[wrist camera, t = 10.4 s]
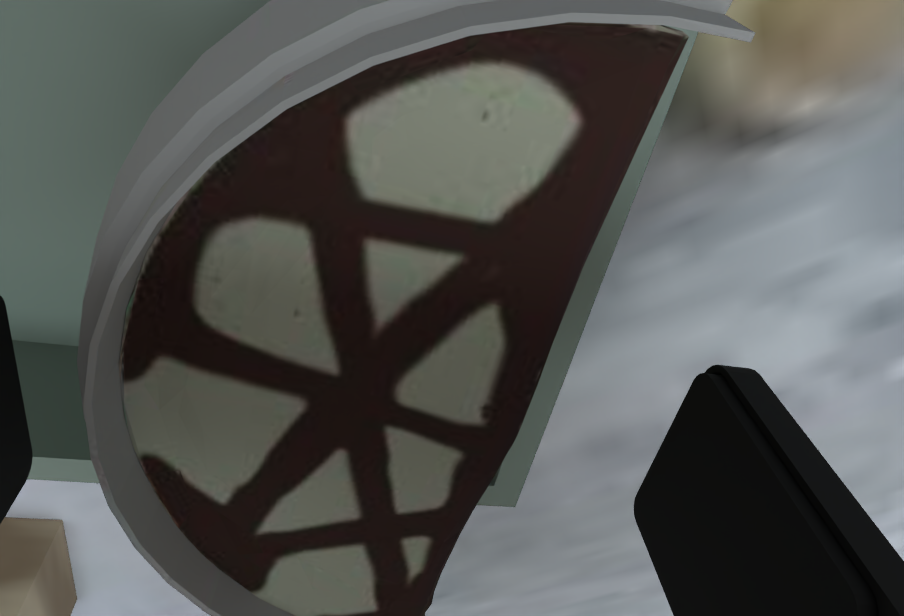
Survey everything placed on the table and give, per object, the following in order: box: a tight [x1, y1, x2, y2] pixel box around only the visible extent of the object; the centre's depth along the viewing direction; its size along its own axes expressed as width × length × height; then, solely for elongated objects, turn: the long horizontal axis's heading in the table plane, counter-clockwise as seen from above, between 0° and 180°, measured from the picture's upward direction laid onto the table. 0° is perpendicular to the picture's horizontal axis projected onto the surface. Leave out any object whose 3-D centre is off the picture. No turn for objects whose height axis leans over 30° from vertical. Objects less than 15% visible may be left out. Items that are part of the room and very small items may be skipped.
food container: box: [77, 0, 755, 616], centre depth 12 cm, size 12×6×10 cm, turn 164°
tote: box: [0, 0, 698, 507], centre depth 14 cm, size 20×17×5 cm
